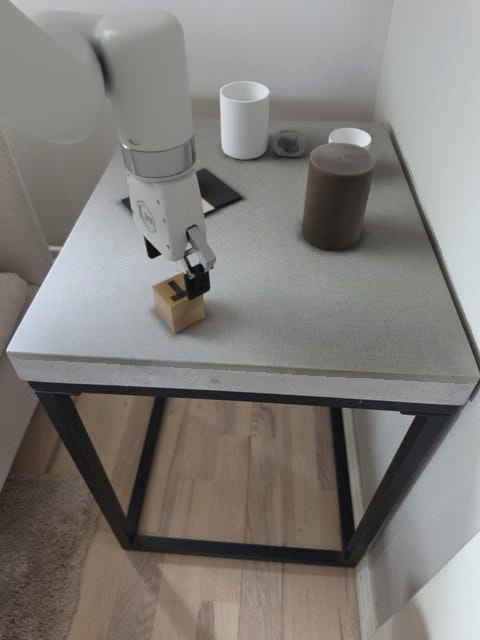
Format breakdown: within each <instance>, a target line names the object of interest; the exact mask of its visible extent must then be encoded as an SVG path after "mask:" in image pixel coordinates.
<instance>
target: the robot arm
mask: <svg viewBox="0 0 480 640" xmlns="http://www.w3.org/2000/svg"><path fill="white" fill-rule="evenodd" d="M186 47H187V46H186V38H185V32H184V29H183V26H182V23H181V22H180V20H179V19H178V18H177V16H176V15H174V14H173V13H172V12H169V11H167V10H163V9H160V8H154V7H136V8H135V7H134V8H128V9H123V10H119V11H116V12H114V13H96V12H95V13H94V12H92V13H91V12H79V11H69V10H45V11H39V12H36V13H33V14H31V15H30V16H29V17H28V16H27V15H26V14H25V13H24V12H23V11H22V10H21V9H19V8H18V7H17V6H16V5H15V4H14V3H13V2H12V1H11V0H0V119H1V120H3V121H4V122H6V123H7V124H8V125H10V126H12V127H14V128H15V129H17V130H18V131H20V132H22V133H23V134H25V135H27V136H29V137H31V138H34V139H36V140H39V141H41V142H44V143H47V144H51V145H60V146H66V145H75V144H77V143H81V142H82V141H85V140H87V139H88V138H89V137H90V136H91V135H93V134H94V133H95V132H96V131H97V129H98V128H99V126H100V125H101V123H102V120H103V117H104V114H105V110H106V98H107V99H108V100H109V101H110V103H111V108H112V113H113V117H114V122H115V123H114V124H115V127H116V131H117V136H118V140H119V146H120V149H121V154H122V159H123V163H124V167H125V175H126V185H127V192H128V197H130V203H131V209H132V212H131V215H132V219H133V223H134V225H135V227H136V229H137V230H138V231H139V232H140V233H141V235H142V236H143V240H144V245H145V250H146V255H147V257H148V258H149V259H150V260H153V259H156V258H158V257H160V256H162V257H164V258H165V259H167V260H168V261H170V262H173V263H176V262H178V261H180V263H181V265H182V267H183V270H184V273H185V274H184V275H183V276H184V282H185V289H186V296H187V298H188V299H189V300H193V299H194V298H196V297H198V296H200V295H202V294H203V295H204V294H206V293H208V292H209V291H210V290H211V279H210V271H211V270H213V269H214V265H215V264H216V261H217V257H216V255H215V253H214V252H213V250H212V248H211V247H210V245H209V244H208V242H207V228H206V227H207V226H206V218H205V214H204V211H203V205H202V199H201V194H200V189H199V184H198V180H197V176H196V170H195V168H196V165H197V153H196V142H195V141H196V140H195V131H194V122H193V121H194V120H193V110H192V100H191V89H190V80H189V79H190V78H189V70H188V68H189V67H188V60H187V59H188V58H187V49H186ZM188 244H190V246H191V247H190V248H188V249H187V246H188ZM193 254H196V256H197V258H198V263H197V264H195V265H193V266H192V264H191V262H190V260H189V258H188V257H189V256H190V255H193Z"/></svg>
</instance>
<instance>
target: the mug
mask: <svg viewBox="0 0 480 640" xmlns="http://www.w3.org/2000/svg"><path fill="white" fill-rule="evenodd" d="M270 93H271V92H270V89H269V88H268V86H267V85H265V84H262V83H259V82H255V81H249V80H245V81H244V80H243V81H234V82H230V83H227V84H225V85H223V86H222V87H221V88H220V90H219V110H220V111H219V112H220V113H219V115H220V139H221V140H220V141H221V143H220V144H221V149H222V151H223V153H224V154H226V156H228V157H230V158H231V159H236V160H243V161H247V160H248V161H249V160H253V159H257V158H259V157H261V156H263V155H264V154H265V153H266V151H267V149H268V142H269V121H270V120H269V119H270V97H271V96H270Z"/></svg>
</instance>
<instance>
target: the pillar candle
mask: <svg viewBox="0 0 480 640" xmlns="http://www.w3.org/2000/svg"><path fill="white" fill-rule="evenodd" d="M376 164H377V160H376V155H375V154H374V152H372V151H370V150H369V151H368V150H366V149H365V148H363V147H360V146H358V145H354V144H349V143H337V142H336V143H334V142H330V143H328V142H327V143H324V144H321V145H319V146H318V145H317V147H315V148H314V149H312V151H311V152H310V156H309V163H308V169H307V170H308V172H307V179H306V180H307V181H306V187H305V195H304V205H303V213H302V221H301V234H302V238H303V239H304V240H305V241H306V242H307V243H308V244H309V245H311V246H312V247H315V248H317V249H320V250H321V251H327V252H337V251H345V250H348V249H350V248H353V247H354V246H355V245H356V244H357V243H358V242H359V240H360V237H361V234H362V233H361V232H362V228H363V227H362V226H363V223H364V218H365V214H366V210H367V205H368V202H369V196H370V192H371V187H372V182H373V177H374V174H375V167H376Z"/></svg>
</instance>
